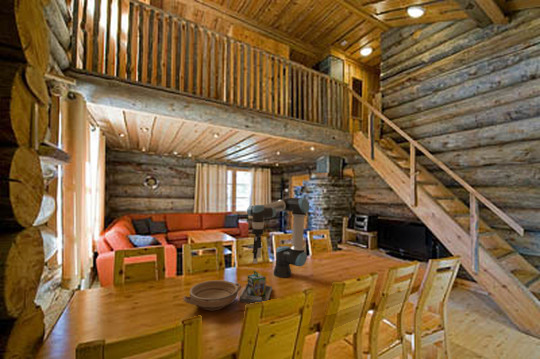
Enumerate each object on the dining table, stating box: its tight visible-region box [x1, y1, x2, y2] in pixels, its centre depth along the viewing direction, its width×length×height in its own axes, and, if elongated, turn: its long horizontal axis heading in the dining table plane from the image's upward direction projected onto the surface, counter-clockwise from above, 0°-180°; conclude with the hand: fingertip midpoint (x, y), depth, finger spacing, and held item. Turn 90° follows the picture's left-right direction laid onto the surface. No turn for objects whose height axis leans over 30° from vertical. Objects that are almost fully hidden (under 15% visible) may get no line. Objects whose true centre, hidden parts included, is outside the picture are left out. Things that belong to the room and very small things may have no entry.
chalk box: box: [247, 270, 267, 296], centre depth 162 cm, size 9×9×15 cm
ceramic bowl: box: [182, 279, 242, 312], centre depth 148 cm, size 37×29×10 cm
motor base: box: [238, 281, 273, 304], centre depth 164 cm, size 23×18×8 cm
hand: (257, 260), depth 163 cm, fingers open, 13 cm apart
